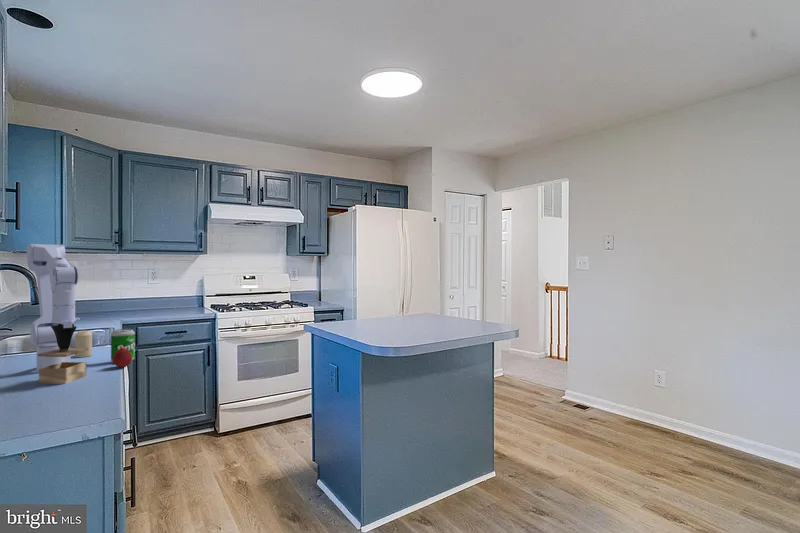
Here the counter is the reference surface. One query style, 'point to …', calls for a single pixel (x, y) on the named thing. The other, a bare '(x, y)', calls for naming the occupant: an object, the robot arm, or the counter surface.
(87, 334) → the candle
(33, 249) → the robot arm
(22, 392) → the counter surface
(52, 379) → the box
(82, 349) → the lid
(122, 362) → the onion
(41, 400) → the counter surface
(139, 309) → the counter surface
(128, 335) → the soda can
